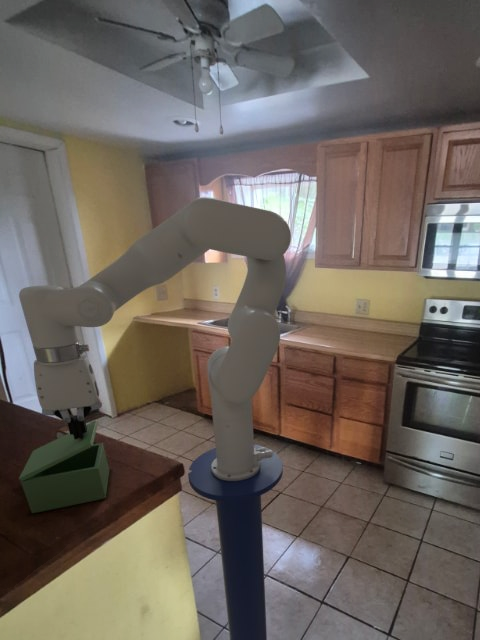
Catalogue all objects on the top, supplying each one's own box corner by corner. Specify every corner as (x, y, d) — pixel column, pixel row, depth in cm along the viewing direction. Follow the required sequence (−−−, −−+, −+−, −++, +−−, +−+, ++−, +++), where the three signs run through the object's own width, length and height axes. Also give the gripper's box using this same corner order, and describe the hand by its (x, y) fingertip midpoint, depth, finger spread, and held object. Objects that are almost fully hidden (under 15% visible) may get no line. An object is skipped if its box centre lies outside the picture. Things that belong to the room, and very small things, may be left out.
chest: (109, 470, 90) (103, 442, 87) (105, 498, 80) (98, 468, 77) (44, 482, 85) (34, 453, 82) (31, 513, 75) (20, 482, 72)
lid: (98, 422, 84) (96, 420, 84) (92, 446, 75) (90, 443, 74) (35, 453, 82) (33, 450, 82) (21, 481, 72) (18, 478, 72)
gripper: (103, 344, 77) (119, 423, 84) (18, 351, 72) (43, 434, 79) (99, 354, 71) (117, 438, 78) (6, 362, 66) (34, 451, 73)
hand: (79, 435), depth 79 cm, fingers closed
